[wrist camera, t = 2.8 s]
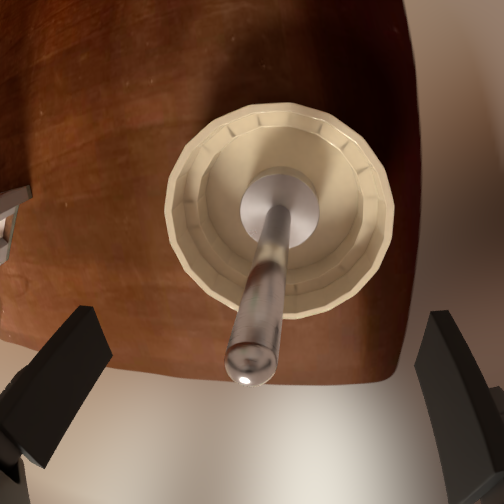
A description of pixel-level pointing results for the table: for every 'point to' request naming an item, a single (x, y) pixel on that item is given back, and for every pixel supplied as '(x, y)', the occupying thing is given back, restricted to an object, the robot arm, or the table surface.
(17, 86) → the table surface
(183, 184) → the mixing bowl
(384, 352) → the table surface
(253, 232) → the rod with disc base
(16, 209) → the cabinet
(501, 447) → the robot arm
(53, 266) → the table surface
